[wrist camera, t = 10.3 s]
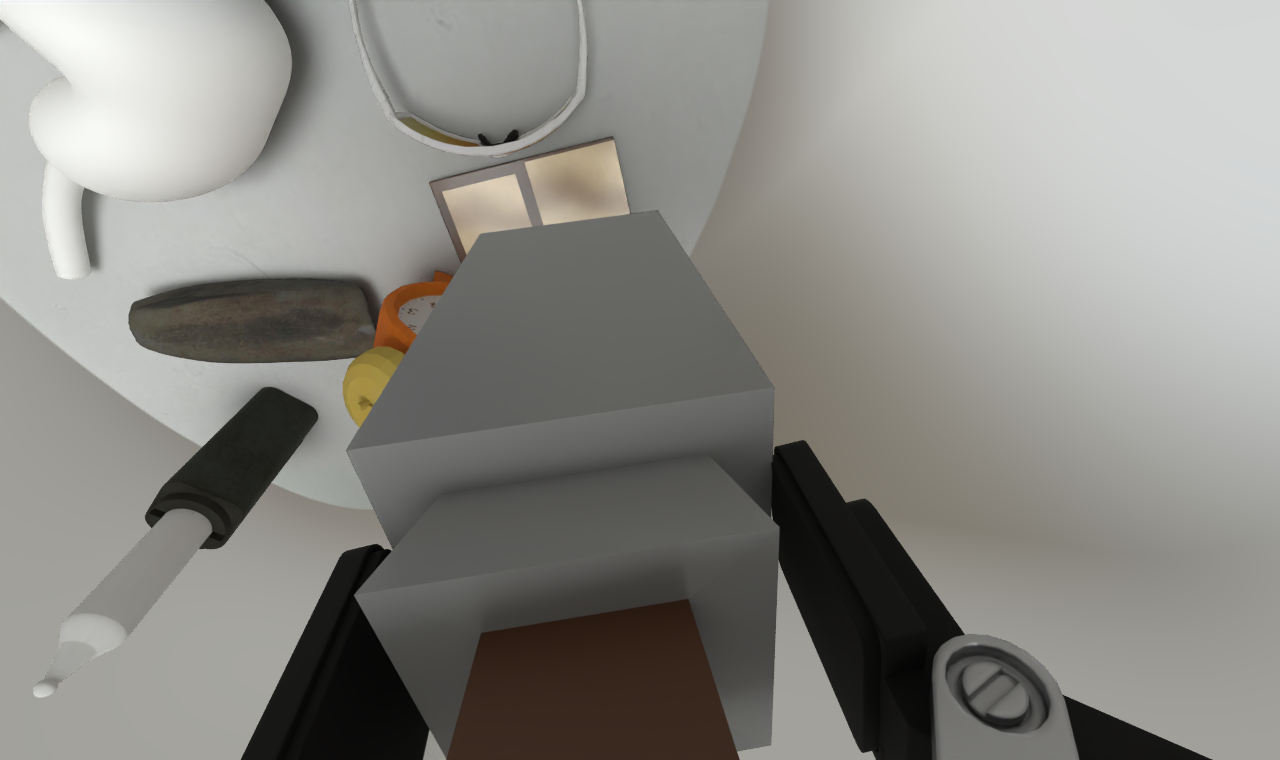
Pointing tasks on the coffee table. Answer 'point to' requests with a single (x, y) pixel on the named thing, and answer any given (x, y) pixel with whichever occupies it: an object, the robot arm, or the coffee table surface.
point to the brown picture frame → (533, 192)
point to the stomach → (147, 101)
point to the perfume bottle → (577, 505)
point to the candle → (185, 525)
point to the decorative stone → (256, 321)
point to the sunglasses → (475, 147)
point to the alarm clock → (390, 343)
